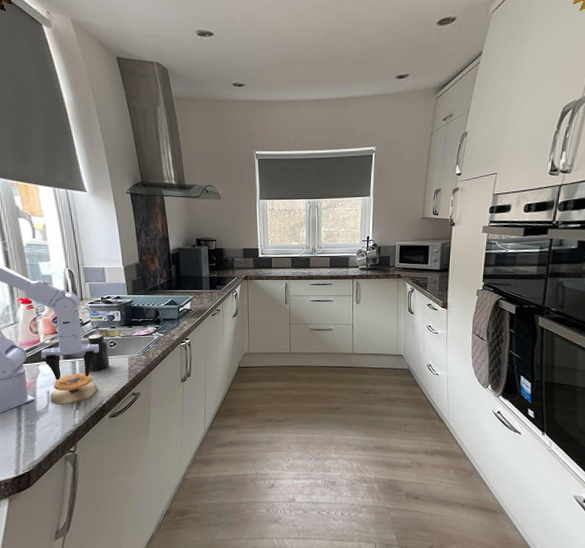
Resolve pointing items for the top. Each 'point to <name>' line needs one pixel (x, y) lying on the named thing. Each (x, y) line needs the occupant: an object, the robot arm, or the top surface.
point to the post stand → (73, 393)
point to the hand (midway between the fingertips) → (73, 376)
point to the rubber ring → (64, 385)
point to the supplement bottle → (99, 353)
